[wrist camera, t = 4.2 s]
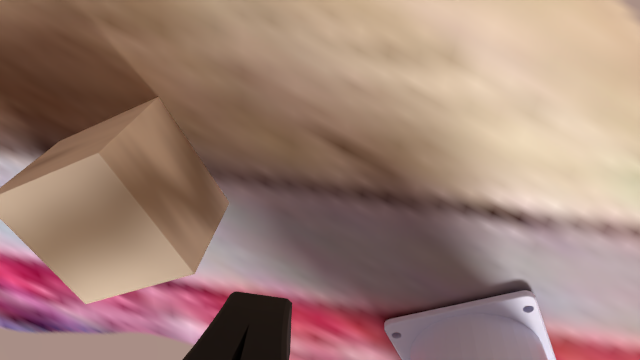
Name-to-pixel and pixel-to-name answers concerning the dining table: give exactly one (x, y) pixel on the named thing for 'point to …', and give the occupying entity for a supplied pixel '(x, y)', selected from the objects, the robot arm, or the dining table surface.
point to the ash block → (117, 205)
